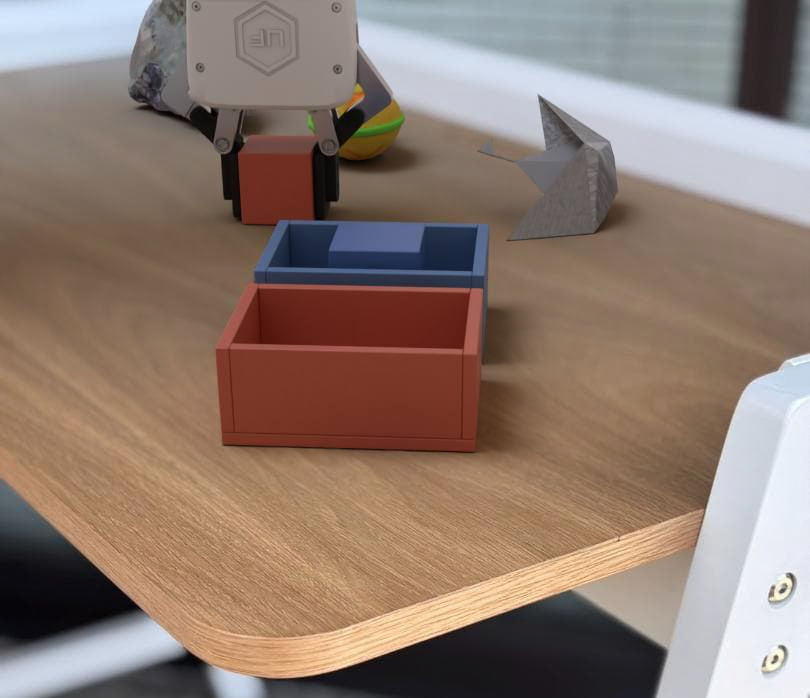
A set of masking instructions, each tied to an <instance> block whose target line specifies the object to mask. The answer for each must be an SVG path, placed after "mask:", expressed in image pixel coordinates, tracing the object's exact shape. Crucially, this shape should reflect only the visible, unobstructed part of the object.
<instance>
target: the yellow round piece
mask: <svg viewBox="0 0 810 698" xmlns="http://www.w3.org/2000/svg"><path fill="white" fill-rule="evenodd" d="M362 97H364V91H363V89H362V88H361V87H360V85H359V84H357V86H356V87H355V92H354V94H353V96H352V97H351V99H350V100H349V101H348V102H347V103H346V104H344V105H342V106H340V107H337V111H338V114H339V117H340V116H341V115H342V114H343V113H344V112H345V111H346V110H347V109H348V108H349V107H350V106H351V105H353V104H355V103H356V102H358V101H359V100H360V99H361V98H362ZM306 112H307V114H308V115H309V116H308V118H307V126H308V128H309V130H311V131H312V133H313V136H316V133H315V129H314V125H313V122H312V118H311V114H310V111H309V110H306ZM404 122H405V114H404V112H403V110H401V108H400V106H399V103H398V102H397V100H396V99H395V98H394V97H393V99H392V101H391V104H390V105H389V106H388V107H387V108H385V109H384V110H382V111H381V112H380V113H378V114H377V115H376V116H374V117H373V118H372V119H370V120H368V121H367V122H366V123H364V124H363V125H362V126H361V127H360V128H359V129H358V130H357V131H356V132H355V133H354V134H353V135H352V136H351V137H350V139H349V140H348V141H347V142H346V143H345V144H344V145H343V146H342V147H341V148H340V149H339V150H338V152H339V158H342V159H346V160H350V161H365V160H368V159H371V158H374V157H376V156H378V155H380V154H382V153H383V152H385V151H386V150H387V149H388V148H389V147H390V146H391V145H392V144H393V143H394V141H395V140H396V139H397V138H398V135H399V133H400V130H401V128H402V126H403V124H404Z"/></svg>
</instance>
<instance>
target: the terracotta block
mask: <svg viewBox="0 0 810 698" xmlns="http://www.w3.org/2000/svg"><path fill="white" fill-rule="evenodd" d="M317 141H318V140H317V136H315V135H276V134H275V135H273V134H271V135H270V134H269V135H268V134H250V135H249V137H248V138H247V139H246V141H245V144H244V145H243V147H242V148H241V150H240V151H239V153H238V163H239V180H240V197H241V213H242V217H241V224H242V225H265V226H266V225H267V226H268V225H270V226H271V225H274V226H277V224H278V222H279V220H289V221H291V220H305V221H316V219H317V216H314V195H313V167H312V159H313V156H314V154H315V152H316V143H317Z"/></svg>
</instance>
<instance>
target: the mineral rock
mask: <svg viewBox="0 0 810 698" xmlns="http://www.w3.org/2000/svg"><path fill="white" fill-rule="evenodd" d="M186 2H187V0H151V2H150V4H149V5H148V6H147V8H146V10H145V12H144V16H143V18H142V19H141V23H140V26H139V29H138V31H137V35H136V39H135V44H134V46H133V49H132V52H131V56H130V60H129V81H128V83H127V92H128V95H129V97H130V99H132V100H133V101H134V102H136V103H138V104H145V105H148V106H151V107H153V108H154V109H155V110H157V111H161V112H162V111H164V112H171V113H173V114H174V115H177V116H182V115H181V114H179V113H178V112H176V111H175V110H174V109H172V108H171V107H169V106H168V105H167V104H165V103H164V102H163V101H162V99H161V93H162V91H163V89H164V88H165V86H166V84H167V83H168V81H169V80H170V78H171V77H172V75H173V73H174V72H175V70H176V69H177V67H178V66H179V64H180V62H181V61H182V59H183V58H184V56H185V55H186V53H187V23H186ZM214 109H215V110H216V111H217V112H218V113H219V108H214ZM255 111H256V109H245V112H244V116H246V117H250V116H252V115H253V114H254V112H255Z"/></svg>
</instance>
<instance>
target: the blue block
mask: <svg viewBox="0 0 810 698" xmlns="http://www.w3.org/2000/svg"><path fill="white" fill-rule="evenodd" d="M329 268H335V269H383V270H425V225H424V224H382V223H339V225H338V227H337V230H336V233H335V235H334V238H333V241H332V243H331V246H330V248H329Z"/></svg>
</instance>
